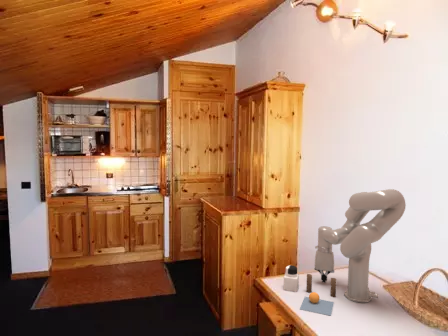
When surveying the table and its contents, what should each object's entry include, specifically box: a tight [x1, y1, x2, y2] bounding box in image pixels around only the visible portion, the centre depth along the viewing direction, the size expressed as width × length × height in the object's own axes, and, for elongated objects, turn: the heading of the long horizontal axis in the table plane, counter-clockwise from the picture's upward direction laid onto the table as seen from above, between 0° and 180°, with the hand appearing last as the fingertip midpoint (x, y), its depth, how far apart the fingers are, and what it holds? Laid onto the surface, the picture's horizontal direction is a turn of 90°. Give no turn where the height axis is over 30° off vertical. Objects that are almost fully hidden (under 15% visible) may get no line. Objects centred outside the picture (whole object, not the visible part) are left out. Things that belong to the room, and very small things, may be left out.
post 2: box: [329, 277, 337, 298], centre depth 164 cm, size 3×3×9 cm
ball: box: [308, 291, 320, 303], centre depth 157 cm, size 5×5×5 cm
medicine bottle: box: [283, 265, 300, 293], centre depth 173 cm, size 7×7×12 cm
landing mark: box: [299, 296, 335, 317], centre depth 154 cm, size 14×14×1 cm
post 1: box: [306, 273, 313, 294], centre depth 169 cm, size 3×3×9 cm
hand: (324, 281), depth 179 cm, fingers closed
